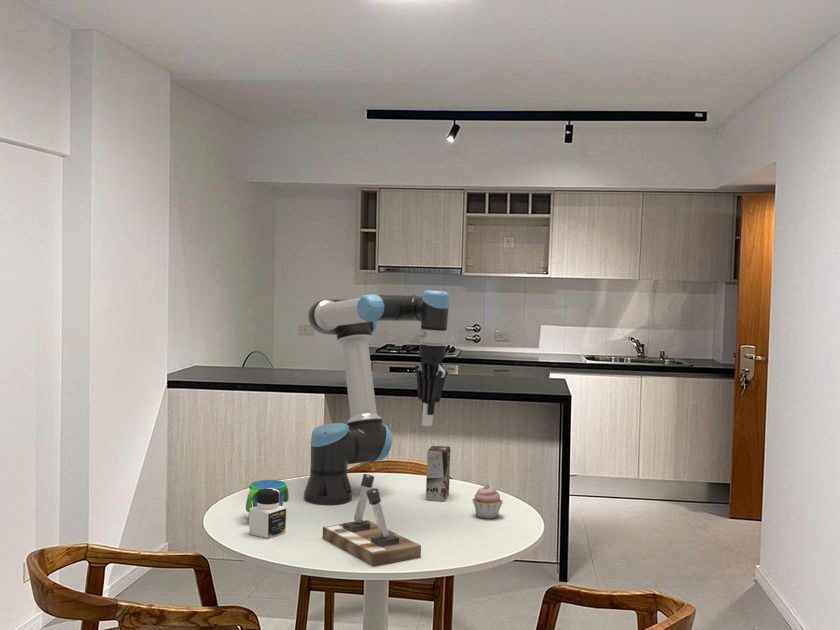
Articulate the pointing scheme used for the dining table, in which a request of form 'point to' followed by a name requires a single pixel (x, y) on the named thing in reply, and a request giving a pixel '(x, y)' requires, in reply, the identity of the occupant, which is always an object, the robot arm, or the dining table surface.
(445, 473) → the coffee box
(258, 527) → the medicine bottle
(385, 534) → the lever
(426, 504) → the dining table surface
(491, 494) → the cupcake
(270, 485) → the snack cup
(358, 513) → the lever
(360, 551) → the switch unit
